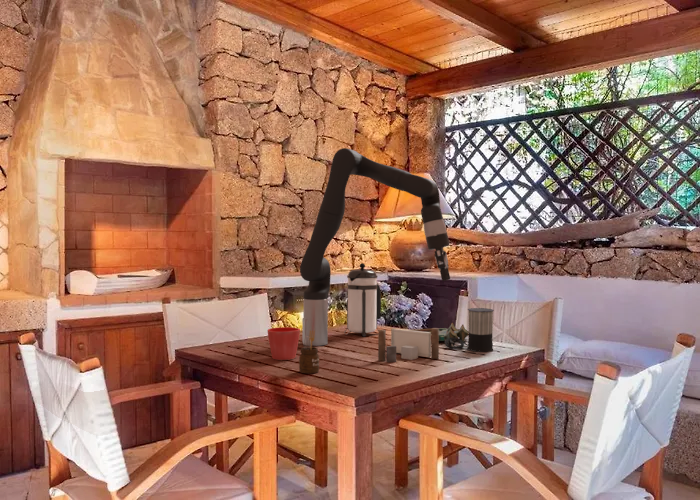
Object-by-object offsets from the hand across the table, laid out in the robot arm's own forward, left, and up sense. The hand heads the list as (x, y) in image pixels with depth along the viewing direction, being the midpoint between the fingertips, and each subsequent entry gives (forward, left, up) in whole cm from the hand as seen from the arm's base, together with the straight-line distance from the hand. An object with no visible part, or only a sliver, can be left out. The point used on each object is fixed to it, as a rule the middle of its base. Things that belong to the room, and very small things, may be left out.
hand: (446, 280), depth 209 cm
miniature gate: (+8, +34, -27) cm, 44 cm away
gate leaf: (-12, +2, -26) cm, 28 cm away
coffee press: (-16, +52, -26) cm, 60 cm away
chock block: (-14, -3, -26) cm, 30 cm away
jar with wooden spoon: (-50, -17, -26) cm, 59 cm away
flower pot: (-55, +6, -26) cm, 62 cm away
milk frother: (+13, +9, -26) cm, 30 cm away
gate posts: (-15, -6, -26) cm, 31 cm away
